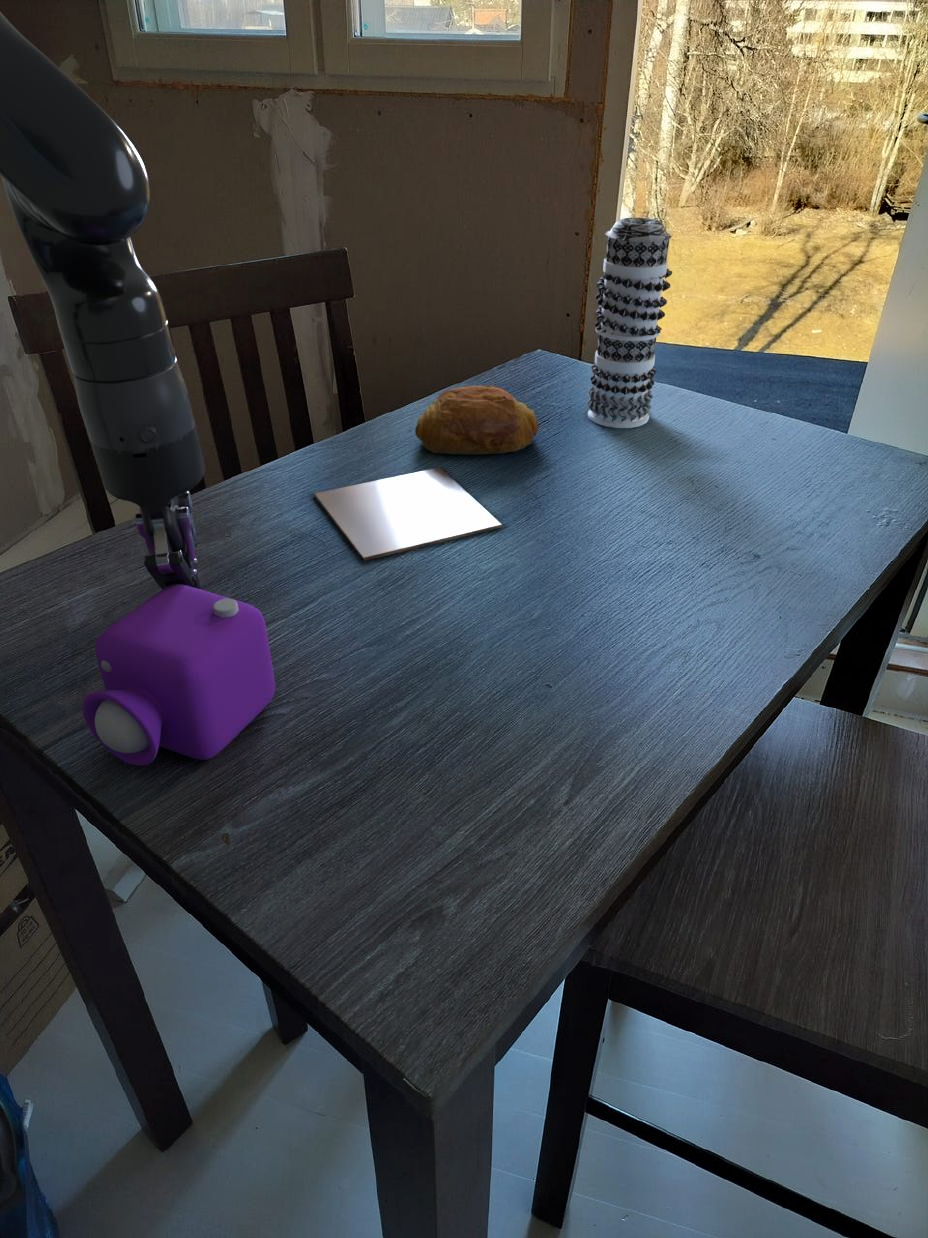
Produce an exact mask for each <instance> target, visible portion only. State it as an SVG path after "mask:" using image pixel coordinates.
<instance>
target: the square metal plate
mask: <svg viewBox="0 0 928 1238" xmlns="http://www.w3.org/2000/svg"><path fill="white" fill-rule="evenodd" d="M313 495H314V497H315V499H316V500H317V501H318V503H319V504H320V505H321V507H322V508H323V509H324V511H325V512H326V514H328V516H329V518H331V520H332V521H333V523H334V524H335V526H336V527H337V528H338V529H339V530H340V532H341V534H343V536H344V537H345V539H346V540H347V541H348V542H349V544H350V546H352V548H353V549H354V550H355V552H356V553H357V554H358V555H359V557H360V558H361V559H362V561H363V562H365V561H371V560H374V559H377V558H381V557H386V556H390V555H394V554H398V553H404V552H407V551H411V550H414V549H415V550H416V549H419V548H423V547H427V546H431V545H437V544H440V543H443V542H448V541H451V540H455V539H460V538H465V537H469V536H473V535H476V534H477V535H478V534H481V533H484V532H485V533H486V532H489V531H494V530H497V529H501V528H503V524H502V523H501V522H500V521H499V520H498V519H497V518H496V517H494V516H493V515H492V514H491V513H490V512H489V511H488V510H487V509H486V508H485V507H484V506H483V505H482V504H480V503H479V502H478V501H477V500H476V499H475V498H474V497H473V496H472V495H471V494H470V493H468V492H467V490H465V489H464V488H463V487H462V486H461V485H460V484H459V483H458V482H456V480H455V479H453V478H452V476H450V475H449V474H448V473H447V472H446V471H445V470H443V469H442V468H441V467H440V466H439V467H435V468H430V469H425V470H420V471H416V472H410V473H405V474H401V475H396V476H391V477H386V478H381V479H377V480H371V481H367V482H362V483H358V484H353V485H348V486H343V487H337V488H334V489H328V490H324V491H318V492H314V494H313Z"/></svg>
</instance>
